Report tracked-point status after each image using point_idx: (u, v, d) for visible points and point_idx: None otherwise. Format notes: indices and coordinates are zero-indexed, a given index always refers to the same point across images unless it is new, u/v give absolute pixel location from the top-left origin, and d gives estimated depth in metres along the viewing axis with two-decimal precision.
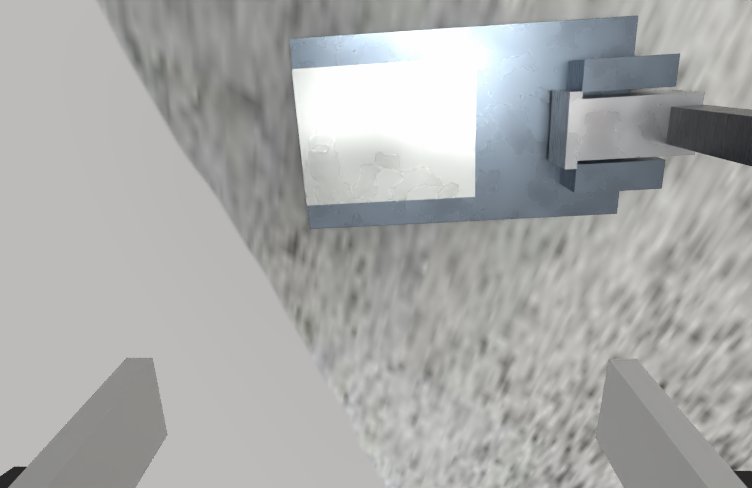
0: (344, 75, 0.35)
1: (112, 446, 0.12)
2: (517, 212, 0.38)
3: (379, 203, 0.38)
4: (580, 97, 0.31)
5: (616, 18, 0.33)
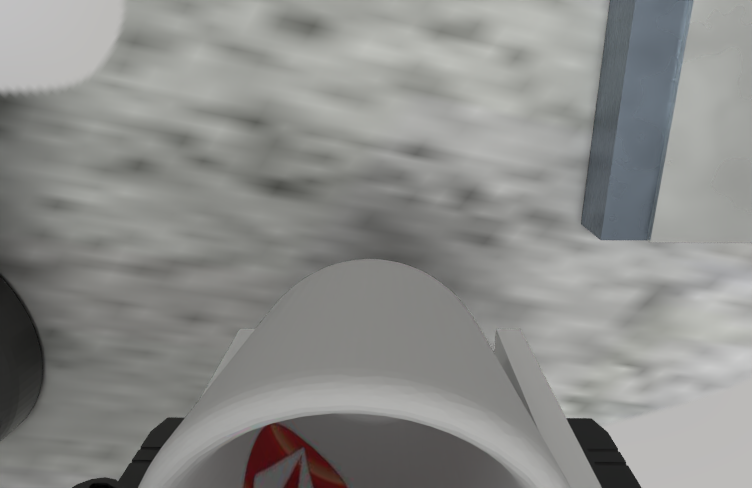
0: (681, 157, 0.20)
1: None
2: None
3: None
4: None
5: None
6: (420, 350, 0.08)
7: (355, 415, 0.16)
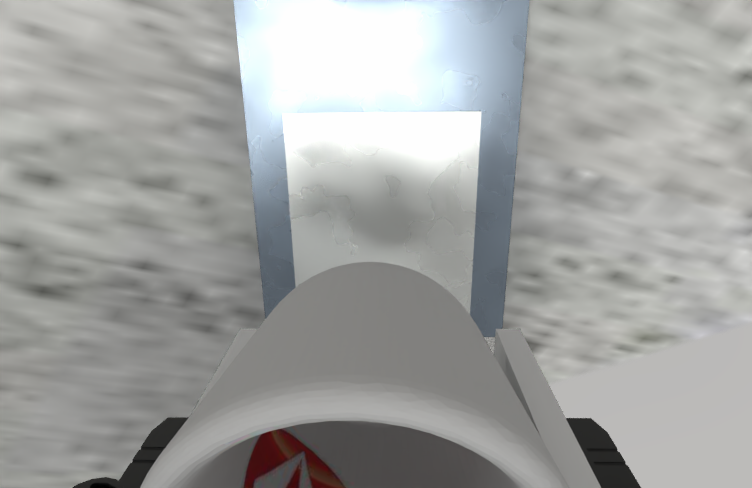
0: None
1: None
2: (515, 38, 0.23)
3: (476, 247, 0.27)
4: None
5: None
6: (421, 356, 0.08)
7: None
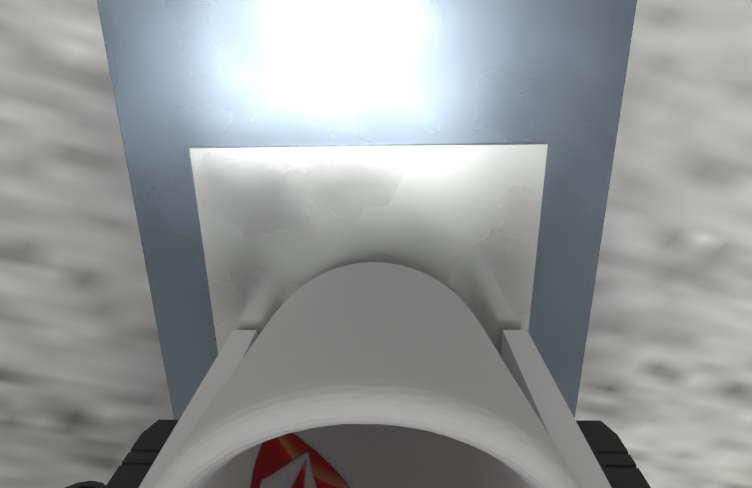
0: None
1: None
2: (616, 11, 0.13)
3: None
4: None
5: None
6: (434, 358, 0.08)
7: None
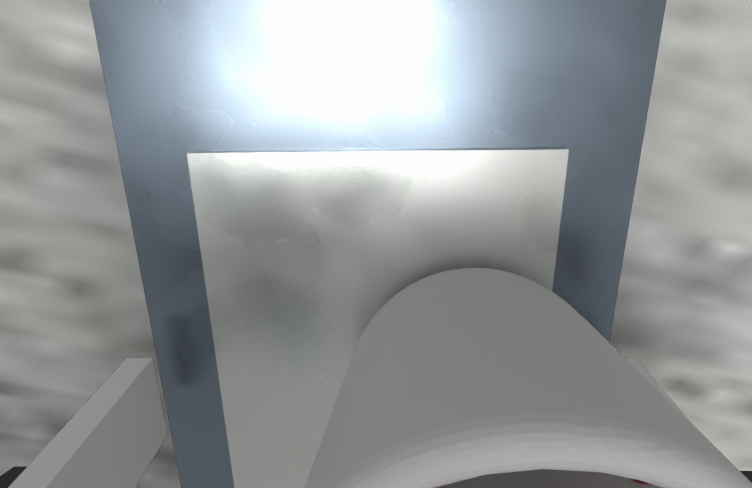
0: (246, 437, 0.16)
1: (112, 446, 0.12)
2: (644, 6, 0.12)
3: None
4: None
5: None
6: (623, 390, 0.07)
7: None
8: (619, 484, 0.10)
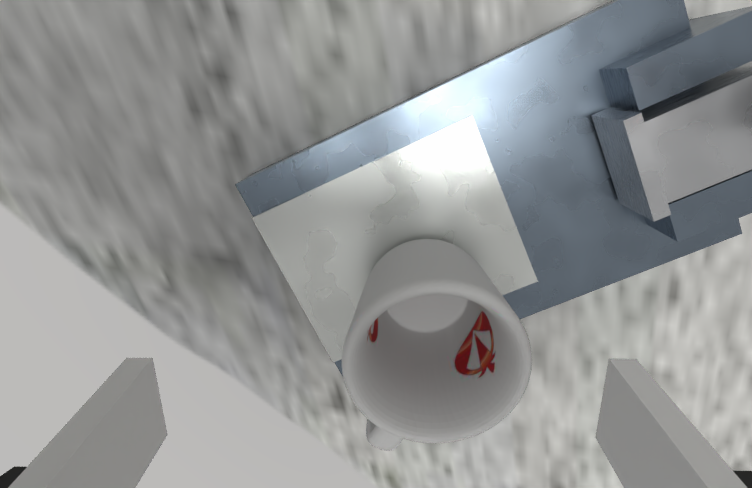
0: (316, 201, 0.26)
1: (112, 446, 0.12)
2: (601, 279, 0.28)
3: None
4: (641, 122, 0.21)
5: None
6: None
7: None
8: (449, 371, 0.24)
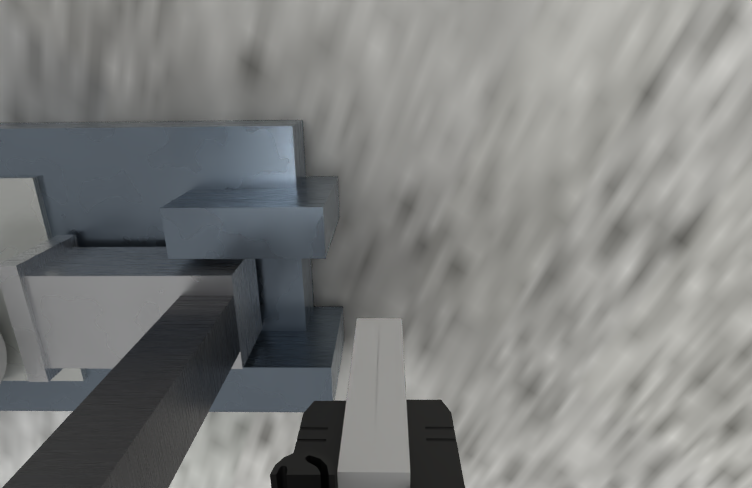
0: None
1: None
2: None
3: None
4: (15, 275, 0.18)
5: (257, 128, 0.20)
6: None
7: None
8: None
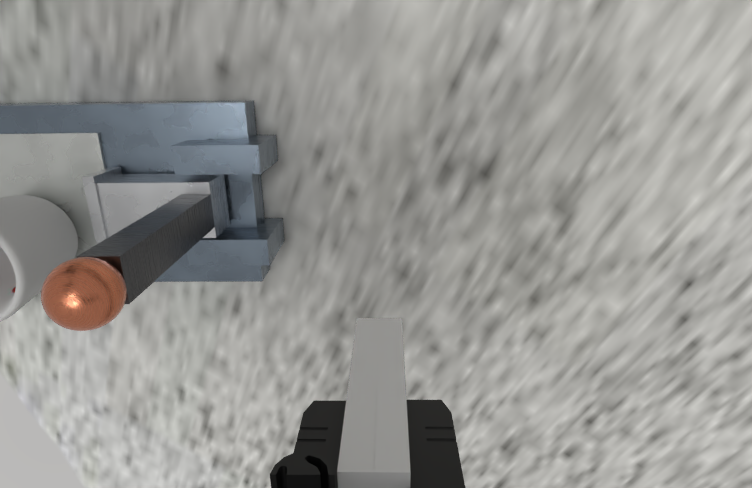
0: None
1: None
2: (168, 275, 0.40)
3: None
4: (92, 182, 0.33)
5: (224, 103, 0.35)
6: (36, 278, 0.32)
7: None
8: (9, 287, 0.35)
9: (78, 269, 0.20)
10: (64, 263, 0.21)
